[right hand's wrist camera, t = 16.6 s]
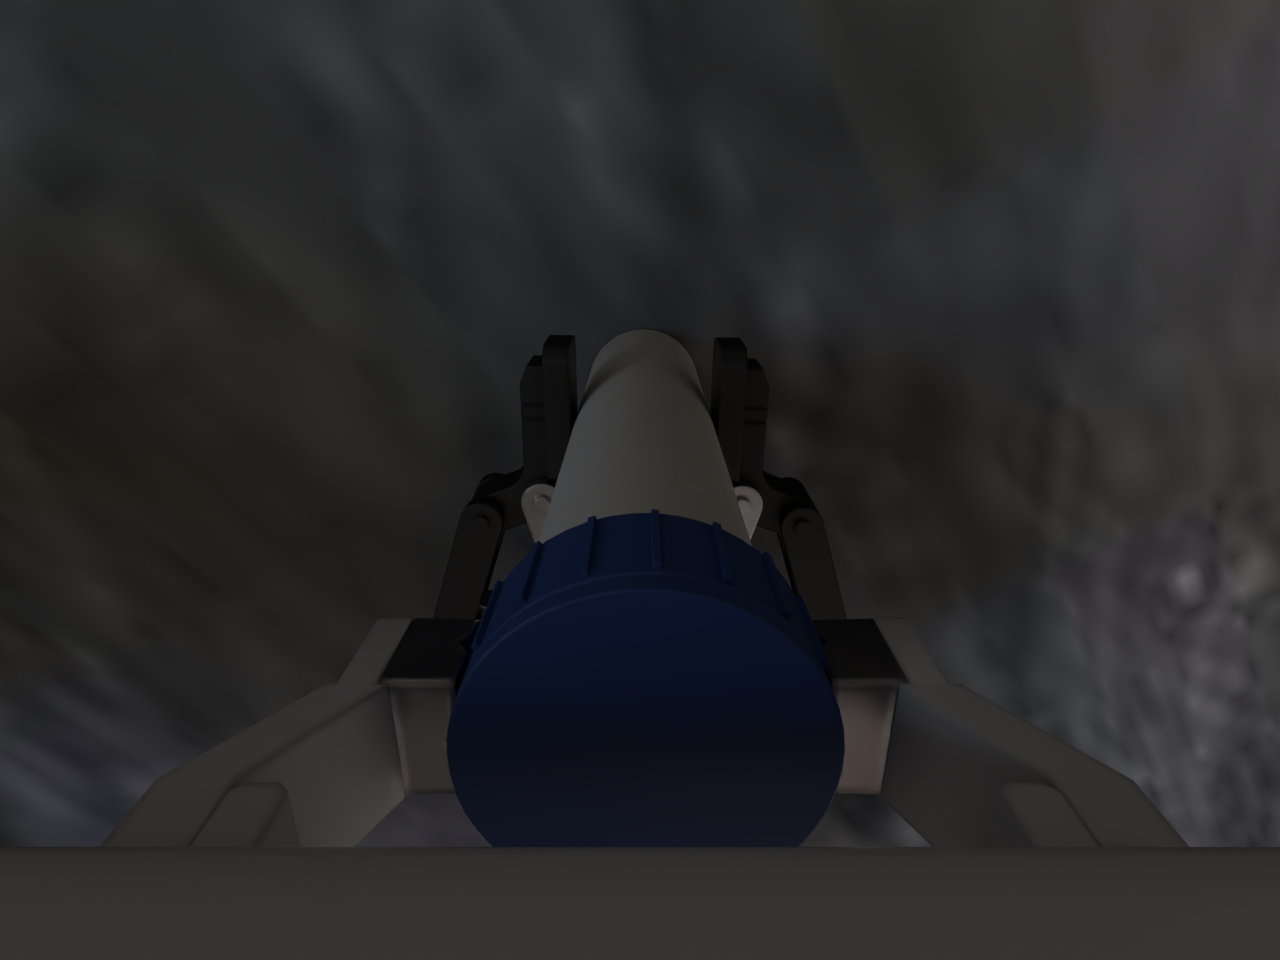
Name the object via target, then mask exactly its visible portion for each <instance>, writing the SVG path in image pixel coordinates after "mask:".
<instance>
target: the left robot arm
mask: <svg viewBox="0 0 1280 960" xmlns="http://www.w3.org/2000/svg"><path fill="white" fill-rule="evenodd" d="M768 395H769V386H768V383H767V379H766V376H765V373H764V370H763V368H762V367H761V366H760V364H759V363H758V361H757V360H756V359H747V349H746V346H745V345H744V343H743V342H742V340H741V339H740V338H715V341H714V350H713V369H712V389H711V408H710V416H711V419H712V422H713V425H714V429H715V432H716V435H717V438H718V441H719V444H720V447H721V450H722V454H723V457H724V460H725V463H726V466H727V469H728V472H729V475H730V479H731V482H732V485H733V488H734V491H735V494H736V497H737V501H738V504H739V507H740V510H741V513H742V516H743V519H744V522H745V526H746V529H747V532H748V535H749V538H750V540H751V537H752V534H753V532H754V529H755V527H756V525H757V526H760V527H762V528H765V529H768V530H771V531H774V532H777V535H778V539H779V542H780V546H781V550H782V554H783V557H784V561H785V565H786V568H787V572H788V576H789V580H790V583H791V587H792V591H793V593H794V594H795V596H798V595H801V596H802V598H803V600H804V602H805V605H806V607H807V610H808V612H809V614H810V617H811V619H812V620H841V619H846V615H845V611H844V606H843V602H842V598H841V594H840V590H839V586H838V582H837V577H836V573H835V569H834V565H833V561H832V557H831V552H830V548H829V544H828V540H827V536H826V532H825V527H824V523H823V520H822V518H821V516H820V514H819V512H818V510H817V509H816V507H815V505H814V503H813V502H812V500H811V498H810V496H809V495H808V493H807V491H806V489H805V488H804V486H803V484H802V483H801V482H800V481H799V480H797V479H795V478H790V477H785V478H779V477H776V476H773V475H771V474H768V473H766V472H765V471H764V470H763V457H764V445H765V432H766V420H767V407H768ZM520 398H521V416H522V435H523V453H524V466H523V467H522V468H521V469H519V470H517V471H514V472H511V473H508V474H505V475H503V474H500V473H491V474H488V475H486V476H485V477H483V478H482V480H481V481H480V483H479V484H478V486H477V488H476V491H475V494H474V496H473V498H472V500H471V501H470V502H469V503H468V504H467V505H466V507H465V509H464V510H463V512H462V514H461V517H460V520H459V524H458V528H457V532H456V535H455V539H454V543H453V547H452V550H451V554H450V558H449V561H448V565H447V569H446V573H445V576H444V580H443V584H442V587H441V591H440V595H439V599H438V602H437V606H436V610H435V614H434V617H433V618H442V619H482V617H483V615H484V612H485V609H486V607H487V604H488V602H489V599H490V597H491V594H492V591H493V590H489V591H487V590H488V587H489V584H490V580H491V577H492V573H493V570H494V567H495V563H496V560H497V557H498V553H499V550H500V547H501V543H502V540H503V536H504V533H505V530H507V529H510V528H513V527H516V526H519V525H522V524H525V523H528V526H529V529H530V532H531V534H532V537H533V540H534V543H536V542H537V541H539V538H540V535H541V531H542V528H543V525H544V521H545V518H546V515H547V512H548V508H549V505H550V502H551V499H552V495H553V492H554V489H555V486H556V482H557V479H558V476H559V473H560V469H561V466H562V463H563V460H564V456H565V453H566V450H567V447H568V443H569V440H570V437H571V433H572V430H573V427H574V424H575V420H576V417H577V380H576V343H575V336H574V335H550V336H549V337H548V339H547V340H546V342H545V343H544V346H543V356H533V357H532V359H531V360H530V361H529V363H528V364H527V366H526V368H525V371H524V374H523V376H522V379H521V382H520Z"/></svg>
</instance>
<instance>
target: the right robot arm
mask: <svg viewBox="0 0 1280 960" xmlns="http://www.w3.org/2000/svg"><path fill="white" fill-rule="evenodd" d="M481 620H482V619H442V618H416V619H414V618H382V619H379V620H377V621H376V623H375V624H374V626H373V627H372V629H371V630H370V632H369V634H368V635H367V637H366V638H365V640H364V641H363V643H362V645H361V646H360V648H359V649H358V651H357V652H356V654H355V656H354V657H353V659H352V660H351V662H350V663H349V665H348V667H347V668H346V670H345V671H344V673H343V674H342V676H341V678H340V679H339V681H338V682H337V684H325V685H324V686H322V687H320V688H318V689H316V690H315V691H313V692H311V693H309V694H308V695H306V696H304V697H302V698H300V699H299V700H297V701H295V702H293V703H292V704H290V705H288V706H286V707H284V708H283V709H281V710H279V711H277V712H276V713H274V714H272V715H270V716H268V717H267V718H265V719H263V720H261V721H259V722H258V723H256V724H254V725H252V726H251V727H249V728H247V729H245V730H243V731H242V732H240V733H238V734H236V735H235V736H233V737H231V738H229V739H227V740H226V741H224V742H222V743H220V744H219V745H217V746H215V747H213V748H211V749H210V750H208V751H206V752H204V753H203V754H201V755H199V756H197V757H195V758H194V759H192V760H190V761H188V762H187V763H185V764H183V765H181V766H179V767H178V768H176V769H174V770H172V771H170V772H169V773H167V774H165V775H163V776H162V777H160V778H158V779H156V781H155V782H154V783H153V784H152V785H151V787H150V788H149V789H148V790H147V791H146V792H145V794H144V795H143V796H142V797H141V798H140V800H139V801H138V802H137V803H136V804H135V806H134V807H133V808H132V809H131V810H130V811H129V813H128V814H127V815H126V816H125V817H124V819H123V820H122V821H121V822H120V823H119V825H118V826H117V827H116V828H115V829H114V831H113V832H112V833H111V834H110V835H109V836H108V838H107V839H106V840H105V841H104V842H103V844H102V845H101V846H100V847H0V960H1280V847H1189V846H1188V844H1187V843H1186V842H1185V841H1184V840H1183V839H1182V837H1181V836H1180V835H1179V834H1178V833H1177V832H1176V830H1175V829H1174V828H1173V827H1172V826H1171V824H1170V823H1169V822H1168V821H1167V820H1166V819H1165V817H1164V816H1163V815H1162V814H1161V813H1160V812H1159V810H1158V809H1157V808H1156V807H1155V806H1154V804H1153V803H1152V802H1151V801H1150V800H1149V799H1148V797H1147V796H1146V795H1145V794H1144V793H1143V792H1142V790H1141V789H1140V788H1139V787H1138V786H1137V784H1136V783H1135V782H1134V781H1133V780H1131V779H1130V778H1128V777H1126V776H1124V775H1123V774H1121V773H1119V772H1117V771H1115V770H1114V769H1112V768H1110V767H1108V766H1106V765H1105V764H1103V763H1101V762H1099V761H1097V760H1096V759H1094V758H1092V757H1090V756H1088V755H1087V754H1085V753H1083V752H1081V751H1080V750H1078V749H1076V748H1074V747H1072V746H1071V745H1069V744H1067V743H1065V742H1063V741H1062V740H1060V739H1058V738H1056V737H1054V736H1053V735H1051V734H1049V733H1047V732H1046V731H1044V730H1042V729H1040V728H1038V727H1037V726H1035V725H1033V724H1031V723H1029V722H1028V721H1026V720H1024V719H1022V718H1020V717H1019V716H1017V715H1015V714H1013V713H1012V712H1010V711H1008V710H1006V709H1004V708H1003V707H1001V706H999V705H997V704H995V703H994V702H992V701H990V700H988V699H986V698H985V697H983V696H981V695H979V694H978V693H976V692H974V691H972V690H970V689H969V688H967V687H965V686H963V685H961V684H950V683H949V681H948V680H947V678H946V677H945V675H944V674H943V672H942V671H941V669H940V668H939V666H938V665H937V663H936V662H935V660H934V659H933V657H932V656H931V654H930V652H929V651H928V649H927V648H926V646H925V645H924V643H923V642H922V640H921V639H920V637H919V636H918V634H917V633H916V631H915V630H914V628H913V627H912V625H911V624H910V622H909V621H908V620H907V619H905V618H903V617H897V618H870V619H841V620H812V622H813V624H814V627H815V629H816V632H817V634H818V637H819V639H820V642H821V644H822V647H823V649H824V652H825V654H826V657H827V659H828V662H829V666H826V667H824V669H825V672H826V675H827V677H828V680H829V682H830V685H831V688H832V690H833V693H834V695H835V698H836V700H837V703H838V706H839V708H840V713H841V717H842V722H843V726H844V739H845V754H844V762H843V770H842V774H841V778H840V781H839V785H838V788H837V791H836V793H853V794H881V798H882V799H884V800H885V801H886V802H887V803H888V804H889V805H890V806H891V807H892V808H893V809H894V810H895V811H896V812H897V813H898V814H899V815H900V816H901V817H902V818H903V819H904V820H905V821H906V822H907V823H909V824H910V825H911V826H912V827H913V828H914V829H915V830H916V831H917V832H918V833H919V834H920V835H921V836H922V837H923V838H924V839H925V840H926V841H927V842H928V843H929V844H930V845H931V846H932V847H355V846H356V845H357V844H358V843H359V842H360V841H361V840H362V839H363V838H364V837H365V836H366V835H367V834H368V833H369V832H370V831H371V830H372V829H373V828H374V827H375V826H376V825H377V824H378V823H379V822H380V821H381V820H382V819H384V818H385V817H386V816H387V815H388V814H389V813H390V812H391V811H392V810H393V809H394V808H395V807H396V806H397V805H398V804H399V803H400V802H401V801H402V800H403V799H404V798H405V794H432V793H456V792H455V789H454V786H453V783H452V779H451V776H450V772H449V766H448V759H447V729H448V724H449V719H450V713H451V710H452V707H453V704H454V701H455V699H456V696H457V693H458V691H459V688H460V685H461V683H462V680H463V677H464V675H465V672H466V670H467V667H468V660H467V655H468V653H469V652H471V651H473V649H471V645H472V643H473V640H474V638H475V635H476V633H477V630H478V627H479V625H480V622H481Z"/></svg>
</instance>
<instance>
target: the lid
mask: <svg viewBox="0 0 1280 960" xmlns="http://www.w3.org/2000/svg"><path fill="white" fill-rule="evenodd" d="M471 649H473V651H471V652H469V653H468V655H467V660H468V667H467V670H466V672H465V675H464V677H463V680H462V683H461V685H460V688H459V691H458V693H457V696H456V699H455V701H454V704H453V707H452V710H451V713H450V719H449V724H448V729H447V759H448V766H449V772H450V776H451V779H452V783H453V786H454V789H455V792H456V795H457V797H458V799H459V801H460V803H461V805H462V807H463V809H464V811H465V813H466V814H467V816H468V817H469V819H470V820H471V822H472V823H473V825H474V826H475V827H476V829H477V830H478V831H479V832H480V833H481V835H482V836H483V837H484V838H485V839H486V840H487V841H488V842H489V843H490V845H491V846H493V847H799V846H800V845H801V844H802V843H803V842H804V841H805V840H806V839H807V838H808V837H809V835H810V834H811V833H812V832H813V831H814V830H815V829H816V827H817V826H818V824H819V823H820V821H821V820H822V818H823V817H824V815H825V814H826V812H827V811H828V809H829V807H830V804H831V802H832V800H833V798H834V796H835V794H836V791H837V788H838V785H839V781H840V778H841V774H842V770H843V762H844V754H845V739H844V726H843V722H842V717H841V713H840V708H839V706H838V703H837V700H836V698H835V695H834V693H833V690H832V688H831V685H830V682H829V680H828V677H827V675H826V672H825V669H824V667H826V666H829V662H828V659H827V657H826V654H825V652H824V649H823V647H822V644H821V642H820V639H819V637H818V634H817V632H816V629H815V627H814V624H813V622H812V619H811V617H810V614H809V612H808V610H807V607H806V605H805V602H804V600H803V598H802V596H801V595H798V596H795V594H794V593H793V591H792V589H791V588H790V586H789V584H788V583H787V581H786V580H785V578H784V577H783V576H782V575H781V574H780V572H779V571H778V570H777V569H776V567H775V565H774V563H773V560H772V557H771V555H770V554H768V553H767V552H765V553H764V554H763V555H762V554H761V553H760V552H759V551H758V550H756V549H755V548H753V547H752V546H750V545H749V544H748V543H746V542H745V541H743V540H742V539H740V538H738V537H736V536H734V535H732V534H731V533H729V532H727V531H725V530H723V529H722V527H721V524H720V523H717V522H715V521H714V522H713V524H712V525H710V524H707V523H704V522H702V521H698V520H694V519H690V518H686V517H681V516H677V515H668V514H661V513H659V510H658V509H651V513H630V514H622V515H615V516H608V517H604V518H600V519H596V516H591V517H588V521H587V522H585V523H583V524H580V525H578V526H575V527H573V528H570V529H568V530H565V531H563V532H562V533H560V534H558V535H556V536H554V537H552V538H551V539H549V540H547V541H545V542H544V543H543V544H542V543H541V542H540V541H537V542H536V543H534V544H533V547H532V550H531V552H530V553H529V554H528V555H527V556H526V557H525V558H524V559H523V560H522V561H521V562H520V563H519V564H518V565H517V566H516V567H515V568H514V569H513V570H512V571H511V573H510V574H509V575H508V577H507V578H506V579H505V581H504V582H501V581H499V580H498V581H497V583H496V584H495V586H494V589H493V591H492V594H491V597H490V599H489V602H488V604H487V607H486V609H485V612H484V615H483V617H482V620H481V622H480V625H479V627H478V630H477V633H476V635H475V638H474V640H473V643H472V645H471Z"/></svg>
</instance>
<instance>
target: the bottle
mask: <svg viewBox="0 0 1280 960" xmlns="http://www.w3.org/2000/svg"><path fill="white" fill-rule="evenodd" d="M651 509H658V510H659V513H661V514H668V515H677V516H681V517H686V518H690V519H694V520H698V521H702V522H704V523H707V524H710V525H712V524H713V522H714V521H715V522H717V523H720V524H721V527H722V529H723V530H725V531H727V532H729V533H731V534H732V535H734V536H736V537H738V538H740V539H742V540H743V541H745V542H746V543H748V544H749V545H750V546H752V544H751V541H750V538H749V535H748V532H747V529H746V526H745V522H744V519H743V516H742V513H741V510H740V507H739V504H738V501H737V497H736V494H735V491H734V488H733V485H732V482H731V479H730V475H729V472H728V469H727V466H726V463H725V460H724V457H723V454H722V450H721V447H720V444H719V441H718V438H717V435H716V432H715V429H714V425H713V422H712V419H711V416H710V413H709V410H708V407H707V403H706V400H705V397H704V394H703V391H702V388H701V385H700V382H699V378H698V375H697V372H696V369H695V366H694V363H693V361H692V359H691V357H690V355H689V354H688V352H687V351H686V349H685V348H684V347H683V346H682V345H681V344H680V343H679V342H678V341H676V340H675V339H674V338H672V337H670V336H669V335H666V334H664V333H662V332H658V331H655V330H648V329H639V330H632V331H628V332H625V333H623V334H620V335H618V336H617V337H615V338H613V339H612V340H610V341H609V342H608V343H607V344H606V345H605V346H604V347H603V348H602V349H601V350H600V352H599V353H598V355H597V357H596V358H595V360H594V363H593V365H592V368H591V372H590V375H589V378H588V381H587V385H586V388H585V391H584V394H583V398H582V401H581V404H580V407H579V411H578V414H577V417H576V420H575V424H574V427H573V430H572V433H571V437H570V440H569V443H568V447H567V450H566V453H565V456H564V460H563V463H562V466H561V469H560V473H559V476H558V479H557V482H556V486H555V489H554V492H553V495H552V499H551V502H550V505H549V508H548V512H547V515H546V518H545V521H544V525H543V528H542V531H541V535H540V538H539V541H540V542H541V543H542V544H543V543H544V542H545V541H547V540H549V539H551V538H552V537H554V536H556V535H558V534H560V533H562V532H563V531H565V530H568V529H570V528H573V527H575V526H578V525H580V524H583V523H585V522H587V521H588V517H591V516H596V519H600V518H604V517H608V516H615V515H622V514H630V513H651Z"/></svg>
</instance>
